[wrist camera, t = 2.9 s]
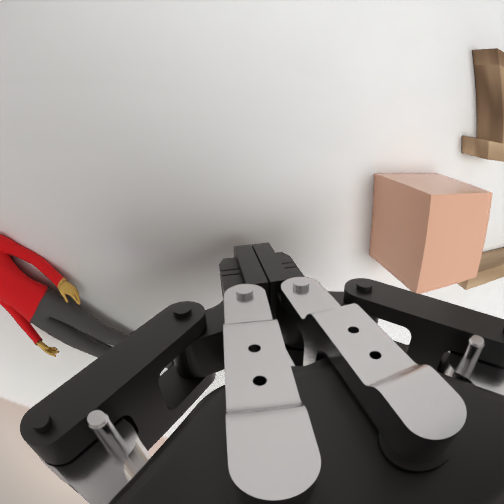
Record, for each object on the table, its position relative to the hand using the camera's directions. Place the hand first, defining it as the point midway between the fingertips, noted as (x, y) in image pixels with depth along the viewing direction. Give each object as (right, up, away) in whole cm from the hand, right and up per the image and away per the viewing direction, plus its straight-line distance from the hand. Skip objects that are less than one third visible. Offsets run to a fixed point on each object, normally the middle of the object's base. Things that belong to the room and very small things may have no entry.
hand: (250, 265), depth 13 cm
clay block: (+10, +3, +4) cm, 11 cm away
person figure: (-12, -2, +2) cm, 13 cm away
